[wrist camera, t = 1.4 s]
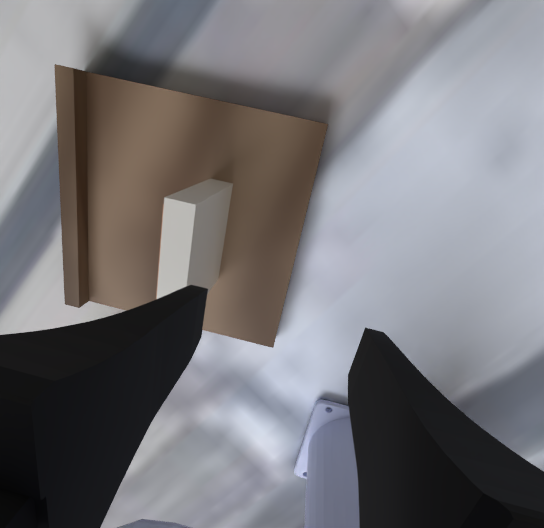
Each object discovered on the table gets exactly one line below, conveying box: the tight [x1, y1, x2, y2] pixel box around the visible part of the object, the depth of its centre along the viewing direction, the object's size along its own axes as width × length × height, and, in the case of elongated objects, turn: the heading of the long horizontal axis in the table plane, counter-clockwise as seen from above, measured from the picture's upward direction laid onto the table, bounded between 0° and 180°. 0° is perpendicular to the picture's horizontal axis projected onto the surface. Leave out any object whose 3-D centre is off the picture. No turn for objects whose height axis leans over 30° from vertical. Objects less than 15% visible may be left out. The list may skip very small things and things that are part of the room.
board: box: [55, 64, 328, 348], centre depth 20 cm, size 14×14×2 cm
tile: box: [156, 179, 233, 299], centre depth 17 cm, size 2×6×6 cm, turn 168°
